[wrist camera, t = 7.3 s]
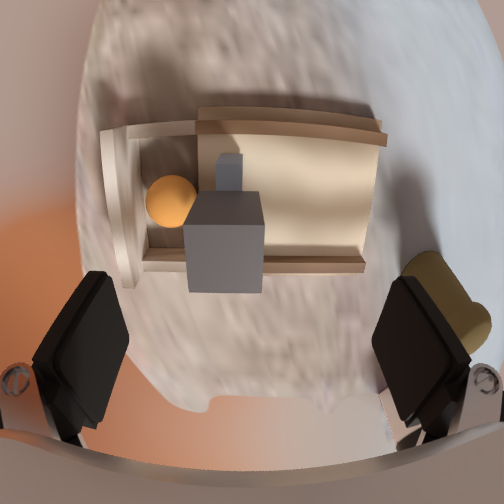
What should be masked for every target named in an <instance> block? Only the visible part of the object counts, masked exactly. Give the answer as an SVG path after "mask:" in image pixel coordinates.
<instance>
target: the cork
mask: <svg viewBox="0 0 504 504" xmlns="http://www.w3.org/2000/svg"><path fill="white" fill-rule="evenodd" d="M402 276H415V277H416V278H417V280H418V281H419V282H420V283H421V285H422V286H423V288H424V289H425V290H426V292H427V293H428V294H429V296H430V297H431V298H432V300H433V301H434V303H435V304H436V306H437V307H438V308H439V310H440V311H441V313H442V314H443V316H444V317H445V319H446V320H447V322H448V323H449V324H450V326H451V328H452V329H453V331H454V332H455V334H456V335H457V337H458V338H459V340H460V341H461V343H462V345H463V346H464V348H465V349H466V351H467V353H468V354H469V355H470V354H472V353H474V352H475V351H476V350H477V349H479V348H480V347H481V345H482V344H483V343H484V342H485V341H486V339H487V337H488V335H489V333H490V331H491V327H492V324H491V316H490V314H489V312H488V311H487V310H486V308H485V307H484V306H483V305H481V304H480V303H477V302H472V300H471V299H470V297H469V296H468V294H467V293H466V291H465V289H464V288H463V286H462V285H461V283H460V282H459V280H458V279H457V278H456V276H455V275H454V273H453V272H452V270H451V269H450V268H449V266H448V265H447V263H446V262H445V261H444V259H443V258H442V257H441V256H440V255H439V253H437V252H434V251H427V252H424V253H421V254H419V255H417V256H416V257H415V258H414V259H412V260H411V261H410V263H409V264H408V265H407V266H406V268H405V270H404V271H403V273H402Z"/></svg>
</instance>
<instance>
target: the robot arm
mask: <svg viewBox="0 0 504 504" xmlns="http://www.w3.org/2000/svg"><path fill="white" fill-rule="evenodd" d="M128 344H129V333H128V330H127V327H126V324H125V321H124V318H123V315H122V312H121V308H120V305H119V302H118V298H117V295H116V291H115V288H114V284H113V280H112V278H111V277H110V276H108V275H107V273H106V272H104V271H89V272H88V273H87V274H86V275H85V277H84V278H83V280H82V281H81V283H80V284H79V285H78V287H77V288H76V289H75V291H74V292H73V294H72V295H71V297H70V298H69V300H68V301H67V303H66V304H65V306H64V307H63V309H62V310H61V312H60V313H59V315H58V316H57V318H56V320H55V321H54V323H53V324H52V326H51V327H50V329H49V331H48V332H47V334H46V335H45V337H44V339H43V341H42V342H41V344H40V345H39V347H38V349H37V351H36V352H35V354H34V356H33V358H32V361H33V362H34V363H33V365H32V366H30V365H29V364H26V363H24V362H23V363H22V362H17V363H14V364H11V365H10V366H8V367H7V368H6V369H5V370H4V371H3V372H2V374H1V375H0V504H504V391H503V384H502V380H501V377H500V375H499V374H498V372H497V371H496V370H495V369H494V368H493V367H491V366H489V365H487V364H483V363H478V364H476V365H474V366H473V367H472V368H471V369H470V367H469V364H470V362H471V361H472V359H471V358H470V356H469V354H468V353H467V351H466V349H465V348H464V346H463V345H462V343H461V341H460V340H459V338H458V337H457V335H456V334H455V332H454V331H453V329H452V328H451V326H450V324H449V323H448V322H447V320H446V319H445V317H444V316H443V314H442V313H441V311H440V310H439V308H438V307H437V306H436V304H435V303H434V301H433V300H432V298H431V297H430V296H429V294H428V293H427V292H426V290H425V289H424V288H423V286H422V285H421V283H420V282H419V281H418V280H417V278H416V277H415V276H399V277H398V278H397V279H396V280H395V281H393V282H392V285H391V288H390V291H389V294H388V296H387V299H386V302H385V305H384V307H383V310H382V313H381V315H380V318H379V321H378V323H377V326H376V328H375V331H374V333H373V336H372V346H373V349H374V351H375V354H376V356H377V359H378V361H379V364H380V367H381V369H382V372H383V374H384V377H385V380H386V382H387V385H388V387H389V390H390V393H391V396H392V398H393V401H394V404H395V407H396V410H397V412H398V415H399V418H400V420H401V421H404V423H405V426H406V428H410V427H413V426H417V425H419V424H420V423H421V426H422V431H421V434H420V436H419V439H418V441H417V444H416V446H415V447H412V448H409V449H405V450H402V451H398V452H394V453H391V454H387V455H383V456H378V457H374V458H369V459H364V460H360V461H355V462H349V463H343V464H337V465H330V466H323V467H316V468H306V469H296V470H295V469H294V470H280V471H244V472H243V471H214V470H201V469H189V468H180V467H172V466H165V465H158V464H152V463H146V462H140V461H135V460H130V459H126V458H121V457H117V456H113V455H108V454H104V453H100V452H96V451H93V450H89V449H88V448H87V446H86V444H85V442H84V440H83V437H82V435H81V433H80V432H81V429H82V426H85V427H89V428H92V429H96V427H97V424H98V422H101V421H102V420H103V418H104V415H105V411H106V407H107V405H108V402H109V398H110V396H111V393H112V389H113V386H114V383H115V381H116V378H117V375H118V372H119V369H120V366H121V363H122V360H123V358H124V355H125V352H126V350H127V347H128Z"/></svg>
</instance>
